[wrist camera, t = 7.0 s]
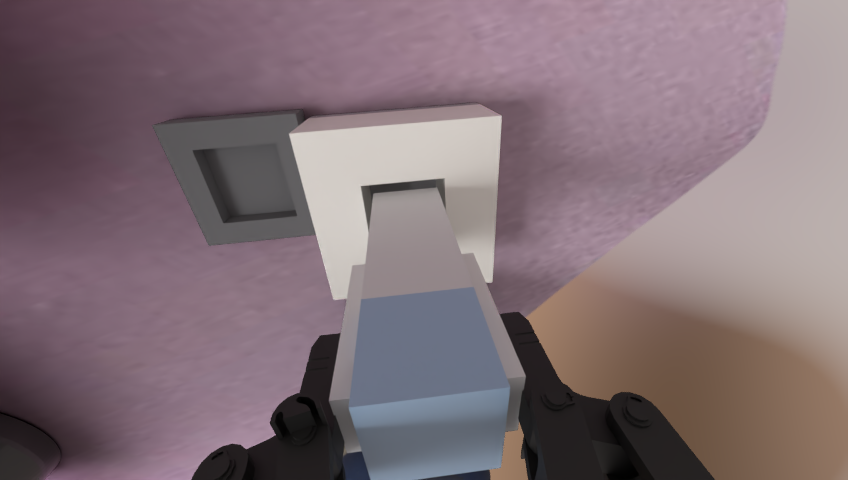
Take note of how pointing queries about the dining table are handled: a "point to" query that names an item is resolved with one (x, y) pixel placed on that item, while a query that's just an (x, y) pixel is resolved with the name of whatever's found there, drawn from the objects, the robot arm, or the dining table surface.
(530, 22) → the dining table surface
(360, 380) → the plug
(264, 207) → the gray recessed square plate
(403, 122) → the block
